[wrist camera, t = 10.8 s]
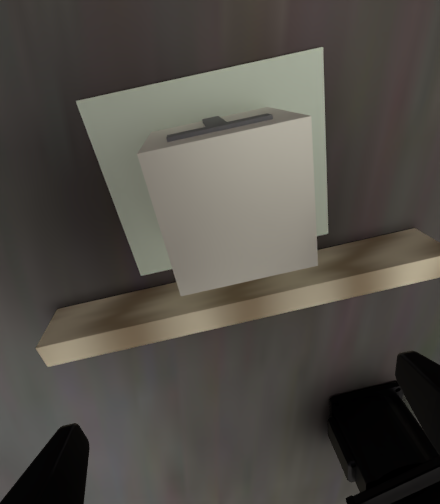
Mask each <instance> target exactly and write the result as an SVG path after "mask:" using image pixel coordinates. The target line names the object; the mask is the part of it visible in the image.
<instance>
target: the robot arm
mask: <svg viewBox="0 0 440 504" xmlns="http://www.w3.org/2000/svg"><path fill="white" fill-rule="evenodd" d="M395 376H396V380H397V382H396V383H391V384H387V385H383V386H378V387H374V388H370V389H365V390H361V391H357V392H352V393H348V394H344V395H340V396H335V397H333V398H331V399H330V401H329V402H330V417H329V418H328V436H329V438H330V441H331V443H332V445H333V448H334V450H335V452H336V455H337V457H338V459H339V462H340V464H341V466H342V469H343V471H344V473H345V476H346V478H347V480H348V481H349V482H356V484H357V486H358V489H359V491H360V493H359V494H357V495H355V496H352V495H351V496H349V497H347V498H346V502H347V504H440V365H439V364H437V363H435V362H434V361H432V360H430V359H428V358H426V357H425V356H423V355H421V354H419V353H417V352H415V351H408V352H403V353H400V354H398V356H397V363H396V371H395ZM403 393H404V395H405V397H406V399H407V401H408V402H409V404H410V406H411V408H412V410H413V412H414V414H415V415H416V417H417V419H418V421H419V423H420V425H421V426H422V427H421V426H420V425H419V423H418V422H417V420H416V419H415V418H414V416H413V415H412V413H411V412H410V411H409V409H408V408H407V406H406V405H405V404H404V402H403V401H402V396H403ZM422 428H423V429H422ZM88 457H89V442H88V439H87V437H86V436H85V434H84V433H83V431H82V429H81V428H80V426H79V425H78V424H76V423H73V424H69V425H64V426H62V427H60V428H59V429H58V430H57V432H56V433H55V434H54V435H53V437H52V438H51V439H50V440H49V442H48V443H47V444H46V445H45V447H44V448H43V449H42V451H41V452H40V453H39V454H38V456H37V457H36V458H35V459H34V461H33V462H32V463H31V464H30V466H29V467H28V468H27V469H26V471H25V472H24V473H23V474H22V476H21V477H20V478H19V479H18V481H17V482H16V483H15V484H14V486H13V487H12V488H11V490H10V491H9V492H8V493H7V495H6V496H5V497H4V498H3V500H2V501H1V502H0V504H84V495H85V485H86V476H87V466H88Z"/></svg>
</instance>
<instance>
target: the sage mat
mask: <svg viewBox="0 0 440 504" xmlns="http://www.w3.org/2000/svg"><path fill="white" fill-rule="evenodd" d="M76 103H77V106H78V109H79V112H80V114H81V117H82V120H83V122H84V125H85V128H86V130H87V133H88V136H89V138H90V141H91V144H92V146H93V149H94V152H95V154H96V157H97V160H98V162H99V165H100V168H101V170H102V173H103V176H104V178H105V181H106V184H107V186H108V189H109V192H110V194H111V197H112V200H113V202H114V205H115V208H116V210H117V213H118V216H119V219H120V221H121V224H122V227H123V229H124V232H125V235H126V237H127V240H128V243H129V245H130V248H131V251H132V253H133V256H134V259H135V261H136V264H137V267H138V269H139V272H140V275H141V276H143V275H148V274H152V273H156V272H161V271H165V270H170V269H172V266H171V263H170V260H169V256H168V253H167V250H166V247H165V243H164V240H163V237H162V234H161V230H160V227H159V224H158V221H157V218H156V214H155V211H154V208H153V205H152V201H151V198H150V195H149V192H148V188H147V185H146V182H145V179H144V175H143V172H142V169H141V166H140V162H139V159H138V156H137V153H138V152H139V150H140V148H141V147H142V145H143V144H144V142H145V141H146V139H147V138H148V136H149V135H150V133H151V132H154V131H159V130H163V129H168V128H172V127H177V126H181V125H186V124H191V123H195V122H200V121H202V119H206V118H210V117H215V116H219V117H223V116H227V115H232V114H237V113H241V112H246V111H250V110H255V109H260V108H264V107H271V108H276V109H280V110H285V111H290V112H295V113H300V114H305V115H309V116H311V120H312V142H313V164H314V186H315V208H316V230H317V236H320V235H325V234H328V204H327V169H326V134H325V99H324V64H323V47H320V48H316V49H311V50H306V51H302V52H297V53H293V54H288V55H284V56H279V57H275V58H270V59H265V60H261V61H256V62H252V63H247V64H243V65H238V66H233V67H229V68H224V69H220V70H215V71H211V72H206V73H202V74H197V75H192V76H188V77H183V78H179V79H174V80H170V81H165V82H160V83H156V84H151V85H147V86H142V87H138V88H133V89H129V90H124V91H119V92H115V93H110V94H106V95H101V96H97V97H92V98H87V99H83V100H78V101H76Z"/></svg>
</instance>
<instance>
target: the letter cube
mask: <svg viewBox="0 0 440 504" xmlns="http://www.w3.org/2000/svg"><path fill="white" fill-rule="evenodd" d="M137 156H138V159H139V162H140V166H141V169H142V172H143V175H144V179H145V182H146V185H147V188H148V192H149V195H150V198H151V201H152V205H153V208H154V211H155V214H156V218H157V221H158V224H159V227H160V230H161V234H162V237H163V240H164V243H165V247H166V250H167V253H168V256H169V260H170V263H171V266H172V269H173V273H174V276H175V279H176V282H177V286H178V289H179V292H180V295H181V296H185V295H190V294H194V293H199V292H203V291H207V290H212V289H216V288H221V287H225V286H230V285H234V284H239V283H243V282H248V281H252V280H256V279H261V278H265V277H270V276H274V275H279V274H283V273H288V272H292V271H296V270H301V269H305V268H310V267H314V266H318V252H317V230H316V208H315V186H314V164H313V142H312V120H311V116H309V115H305V114H300V113H295V112H290V111H285V110H280V109H276V108H271V107H264V108H260V109H255V110H250V111H246V112H241V113H237V114H232V115H227V116H223V117H219V116H215V117H210V118H206V119H202V121H200V122H195V123H191V124H186V125H181V126H177V127H172V128H168V129H163V130H159V131H154V132H151V133H150V135H149V136H148V138H147V139H146V141H145V142H144V144H143V145H142V147H141V148H140V150H139V152H138V153H137Z"/></svg>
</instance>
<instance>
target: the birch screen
mask: <svg viewBox="0 0 440 504" xmlns="http://www.w3.org/2000/svg"><path fill="white" fill-rule="evenodd" d="M317 252H318V266H314V267H310V268H305V269H301V270H296V271H292V272H288V273H283V274H279V275H274V276H270V277H265V278H261V279H256V280H252V281H248V282H243V283H239V284H234V285H230V286H225V287H221V288H216V289H212V290H207V291H203V292H199V293H194V294H190V295H185V296H181V295H180V292H179V289H178V286H177V282H174V283H170V284H165V285H161V286H157V287H152V288H148V289H143V290H139V291H135V292H130V293H126V294H121V295H117V296H113V297H108V298H104V299H99V300H95V301H90V302H86V303H82V304H77V305H73V306H68V307H64V308H60V309H57V310H56V312H55V314H54V316H53V318H52V320H51V321H50V323H49V325H48V327H47V329H46V330H45V332H44V334H43V336H42V338H41V339H40V341H39V343H38V345H37V347H36V350H37V351H38V353H39V354H40V356H41V357H42V359H43V360H44V362H45V364H46V365H47V367H50V366H54V365H59V364H63V363H67V362H72V361H76V360H80V359H85V358H89V357H94V356H98V355H102V354H107V353H111V352H115V351H120V350H124V349H129V348H133V347H137V346H142V345H146V344H150V343H155V342H159V341H164V340H168V339H172V338H177V337H181V336H185V335H190V334H194V333H199V332H203V331H207V330H212V329H216V328H220V327H225V326H229V325H234V324H238V323H242V322H247V321H251V320H255V319H260V318H264V317H269V316H273V315H277V314H282V313H286V312H290V311H295V310H299V309H304V308H308V307H312V306H317V305H321V304H325V303H330V302H334V301H339V300H343V299H347V298H352V297H356V296H360V295H365V294H369V293H373V292H378V291H382V290H387V289H391V288H395V287H400V286H404V285H408V284H413V283H417V282H422V281H426V280H430V279H435V278H439V277H440V243H439V242H438V241H436V240H434V239H432V238H431V237H429V236H427V235H426V234H424V233H422V232H421V231H419V230H417V229H416V228H413V229H408V230H404V231H399V232H395V233H391V234H386V235H382V236H377V237H373V238H368V239H364V240H360V241H355V242H351V243H346V244H342V245H338V246H333V247H329V248H324V249H320V250H317Z"/></svg>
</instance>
